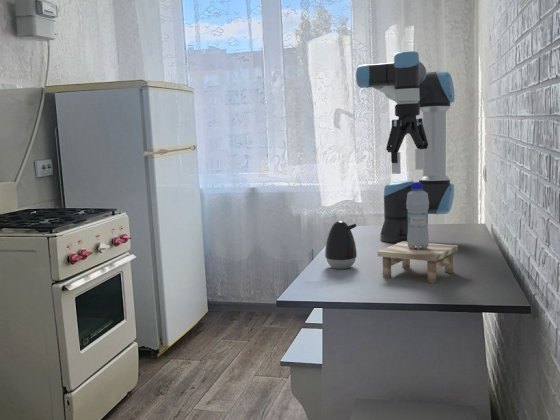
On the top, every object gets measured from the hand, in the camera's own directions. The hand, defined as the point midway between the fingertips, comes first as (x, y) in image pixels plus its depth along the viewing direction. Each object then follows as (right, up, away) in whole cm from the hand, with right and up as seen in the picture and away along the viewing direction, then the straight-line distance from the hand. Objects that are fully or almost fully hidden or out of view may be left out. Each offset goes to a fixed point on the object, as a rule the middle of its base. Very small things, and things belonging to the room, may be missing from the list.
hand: (408, 171), depth 192 cm
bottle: (+1, -24, -8) cm, 25 cm away
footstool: (+1, -32, -8) cm, 32 cm away
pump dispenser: (-20, -31, +6) cm, 38 cm away
